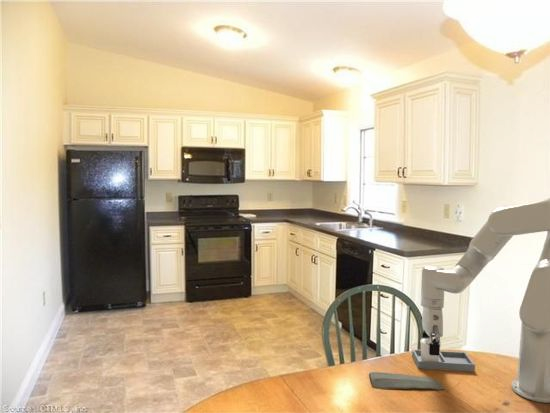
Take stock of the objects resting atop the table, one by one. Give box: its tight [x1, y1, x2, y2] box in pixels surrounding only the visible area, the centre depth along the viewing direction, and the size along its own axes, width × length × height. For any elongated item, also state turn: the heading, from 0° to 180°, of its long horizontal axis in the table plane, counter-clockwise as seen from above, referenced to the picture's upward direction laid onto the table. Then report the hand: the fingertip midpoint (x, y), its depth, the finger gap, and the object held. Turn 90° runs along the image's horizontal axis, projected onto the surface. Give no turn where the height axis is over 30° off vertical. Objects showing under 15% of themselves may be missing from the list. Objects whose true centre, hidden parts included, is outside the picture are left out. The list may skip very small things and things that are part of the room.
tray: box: [411, 348, 476, 373], centre depth 147 cm, size 10×19×2 cm, turn 84°
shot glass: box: [419, 337, 442, 362], centre depth 147 cm, size 7×7×7 cm
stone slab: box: [368, 371, 445, 391], centre depth 134 cm, size 22×3×10 cm
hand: (430, 348), depth 147 cm, fingers open, 9 cm apart
